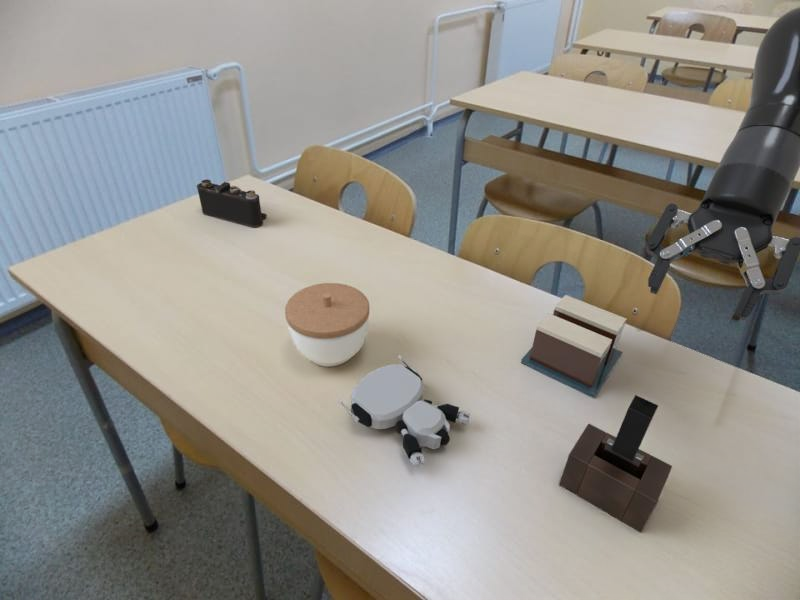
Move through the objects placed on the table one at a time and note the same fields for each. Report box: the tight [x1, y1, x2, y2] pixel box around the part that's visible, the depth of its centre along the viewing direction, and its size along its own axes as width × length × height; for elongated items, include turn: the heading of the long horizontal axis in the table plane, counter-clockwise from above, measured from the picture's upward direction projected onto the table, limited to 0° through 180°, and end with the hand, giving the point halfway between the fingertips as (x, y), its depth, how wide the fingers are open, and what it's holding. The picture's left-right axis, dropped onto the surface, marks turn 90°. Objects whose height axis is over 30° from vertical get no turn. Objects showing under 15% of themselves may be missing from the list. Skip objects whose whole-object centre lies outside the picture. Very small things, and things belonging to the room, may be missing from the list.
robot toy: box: [336, 354, 471, 467], centre depth 70 cm, size 12×4×15 cm
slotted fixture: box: [520, 294, 627, 399], centre depth 80 cm, size 12×12×8 cm
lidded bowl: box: [284, 282, 371, 368], centre depth 80 cm, size 13×13×11 cm
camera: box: [196, 179, 268, 229], centre depth 118 cm, size 16×7×8 cm, turn 65°
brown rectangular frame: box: [558, 423, 673, 533], centre depth 62 cm, size 10×6×6 cm, turn 52°
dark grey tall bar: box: [601, 394, 659, 476], centre depth 59 cm, size 4×2×15 cm, turn 52°
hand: (692, 306), depth 58 cm, fingers open, 8 cm apart
